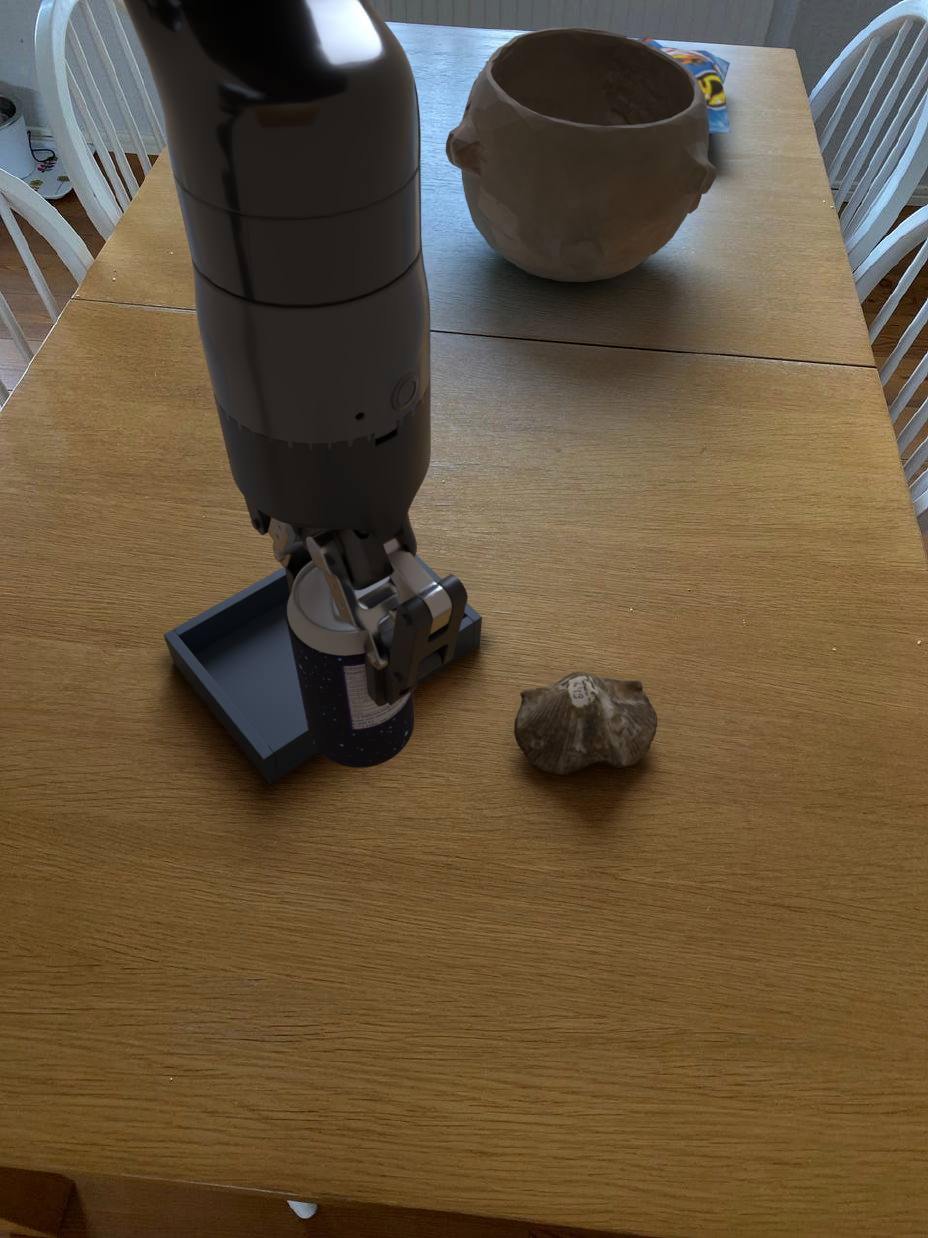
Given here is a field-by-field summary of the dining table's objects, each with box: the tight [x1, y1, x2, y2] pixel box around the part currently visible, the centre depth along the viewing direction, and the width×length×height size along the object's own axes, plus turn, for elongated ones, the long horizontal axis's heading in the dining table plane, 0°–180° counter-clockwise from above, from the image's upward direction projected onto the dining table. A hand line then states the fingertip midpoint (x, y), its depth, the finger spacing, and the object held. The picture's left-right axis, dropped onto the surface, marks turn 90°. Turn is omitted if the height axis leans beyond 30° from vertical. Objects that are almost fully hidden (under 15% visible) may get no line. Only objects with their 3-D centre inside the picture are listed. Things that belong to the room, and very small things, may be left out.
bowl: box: [445, 26, 717, 283], centre depth 103 cm, size 27×29×20 cm
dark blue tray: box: [163, 554, 483, 785], centre depth 74 cm, size 20×14×4 cm
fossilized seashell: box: [513, 670, 658, 776], centre depth 69 cm, size 8×7×10 cm
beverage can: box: [286, 560, 415, 769], centre depth 47 cm, size 6×6×12 cm
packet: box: [637, 35, 731, 135], centre depth 128 cm, size 17×24×8 cm
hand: (353, 648), depth 46 cm, fingers closed on beverage can, 5 cm apart
